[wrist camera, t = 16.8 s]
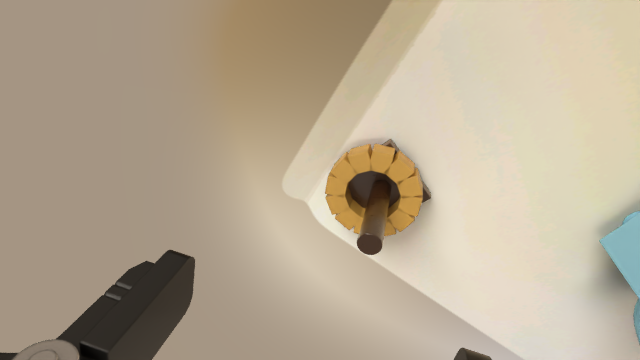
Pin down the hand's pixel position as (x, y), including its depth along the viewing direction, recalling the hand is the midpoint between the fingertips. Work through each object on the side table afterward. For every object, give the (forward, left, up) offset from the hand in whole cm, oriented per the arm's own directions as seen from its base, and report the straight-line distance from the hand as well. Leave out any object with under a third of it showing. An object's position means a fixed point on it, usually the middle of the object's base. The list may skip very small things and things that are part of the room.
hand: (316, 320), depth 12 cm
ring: (+7, -6, -28) cm, 29 cm away
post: (+7, -6, -29) cm, 31 cm away
